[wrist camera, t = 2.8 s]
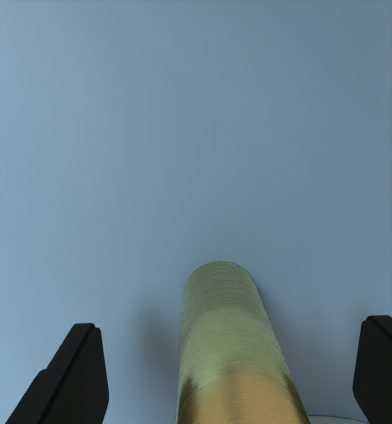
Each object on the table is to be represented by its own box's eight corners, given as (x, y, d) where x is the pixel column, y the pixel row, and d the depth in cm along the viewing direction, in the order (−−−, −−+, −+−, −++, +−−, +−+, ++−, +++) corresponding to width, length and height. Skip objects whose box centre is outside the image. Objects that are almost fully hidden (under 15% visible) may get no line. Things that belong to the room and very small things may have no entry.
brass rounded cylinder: (182, 262, 12) (155, 571, 4) (257, 260, 12) (406, 565, 4) (185, 327, 13) (168, 700, 5) (255, 325, 13) (371, 694, 5)
